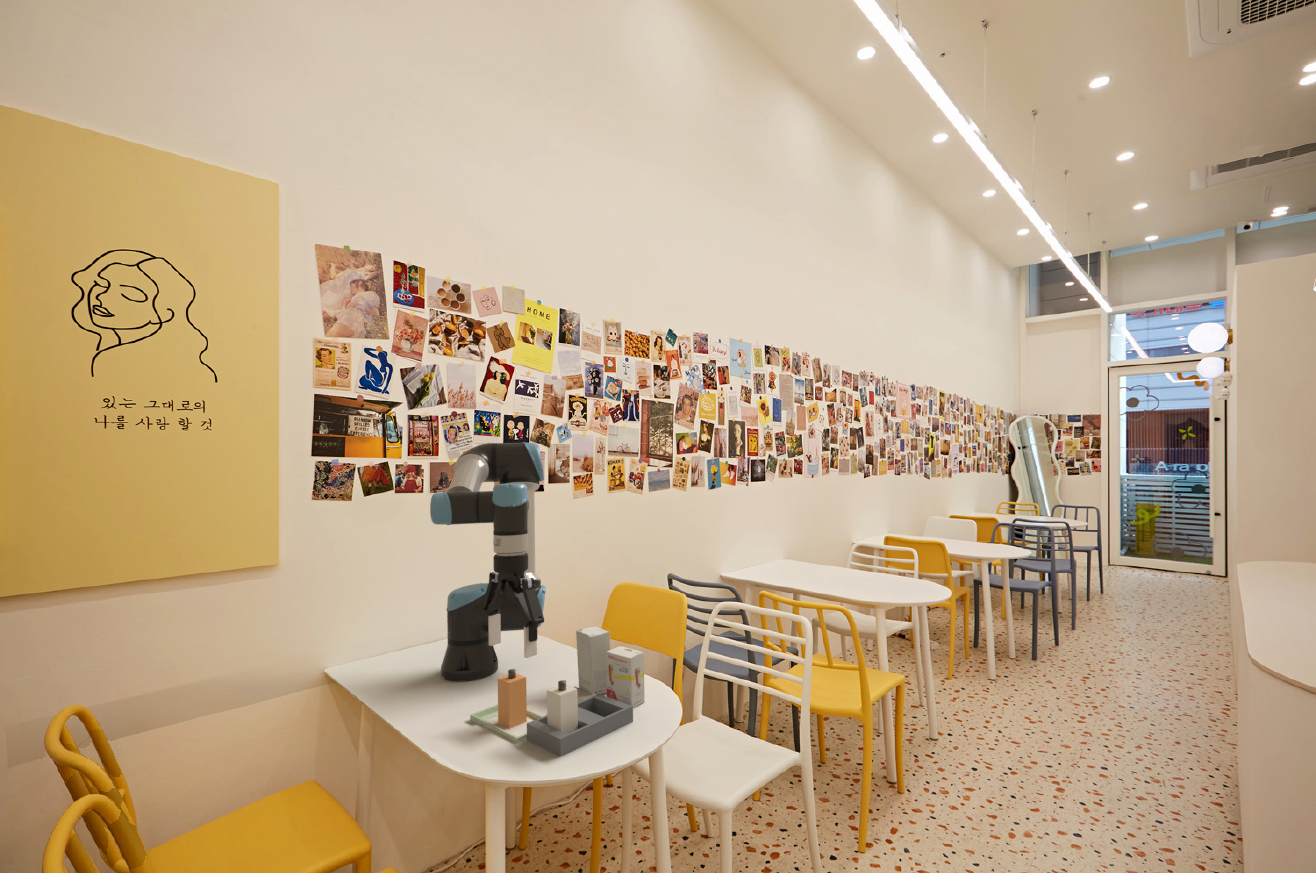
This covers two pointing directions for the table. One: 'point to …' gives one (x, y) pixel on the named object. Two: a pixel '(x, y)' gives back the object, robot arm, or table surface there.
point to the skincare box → (592, 659)
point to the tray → (492, 713)
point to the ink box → (625, 675)
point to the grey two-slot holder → (582, 725)
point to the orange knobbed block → (512, 699)
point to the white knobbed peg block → (562, 708)
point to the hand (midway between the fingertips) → (512, 650)
